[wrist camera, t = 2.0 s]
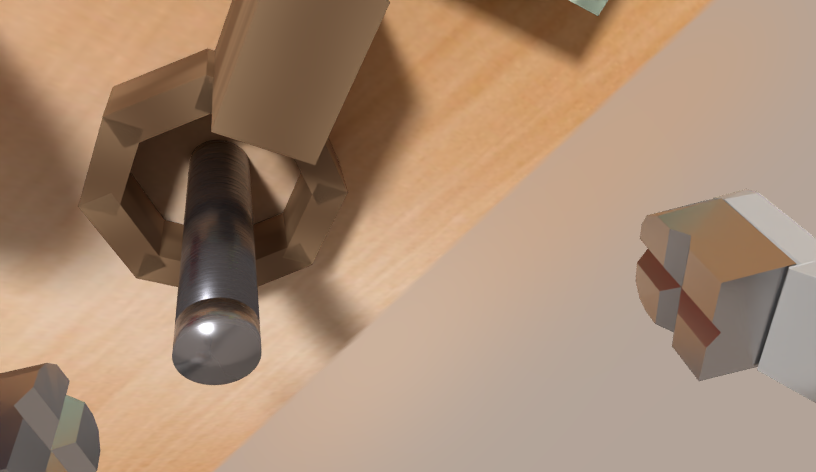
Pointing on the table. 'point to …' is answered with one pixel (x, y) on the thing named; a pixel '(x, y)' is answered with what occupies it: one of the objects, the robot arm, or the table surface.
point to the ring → (239, 127)
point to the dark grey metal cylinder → (217, 270)
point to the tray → (591, 5)
